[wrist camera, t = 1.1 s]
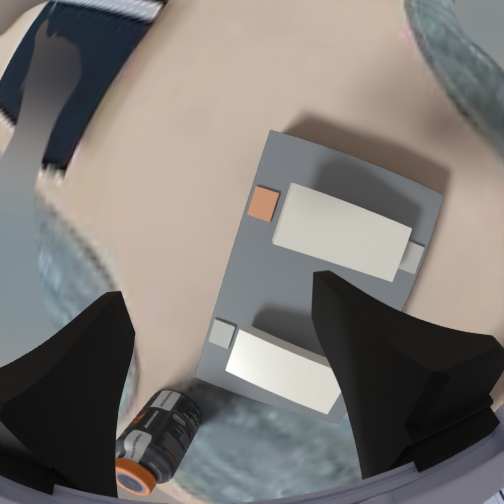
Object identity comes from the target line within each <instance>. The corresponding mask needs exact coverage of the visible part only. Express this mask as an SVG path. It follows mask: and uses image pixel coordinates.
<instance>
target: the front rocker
mask: <svg viewBox="0 0 504 504" xmlns="http://www.w3.org/2000/svg"><path fill="white" fill-rule="evenodd" d="M411 230H412V228H410V227H407V226H405V225H403V224H400V223H398V222H396V221H393V220H391V219H388V218H386V217H384V216H381V215H379V214H376V213H374V212H371V211H369V210H366V209H364V208H361V207H358V206H356V205H353V204H351V203H348V202H345V201H343V200H340V199H337V198H335V197H332V196H329V195H327V194H324V193H321V192H318V191H315V190H313V189H310V188H307V187H304V186H301V185H298V184H295V183H291V184H290V187H289V190H288V193H287V196H286V199H285V202H284V205H283V209H282V212H281V215H280V218H279V221H278V224H277V227H276V230H275V233H274V236H273V239H272V241H273V244H275V245H278V246H281V247H284V248H288V249H291V250H294V251H297V252H300V253H303V254H307V255H310V256H313V257H316V258H319V259H322V260H325V261H329V262H332V263H335V264H338V265H341V266H344V267H347V268H350V269H353V270H356V271H360V272H363V273H366V274H369V275H372V276H375V277H378V278H381V279H384V280H387V281H390V282H393V279H394V277H395V274H396V272H397V269H398V266H399V264H400V261H401V259H402V256H403V253H404V250H405V248H406V245H407V242H408V239H409V236H410V233H411Z"/></svg>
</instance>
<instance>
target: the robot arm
mask: <svg viewBox="0 0 504 504" xmlns="http://www.w3.org/2000/svg"><path fill="white" fill-rule="evenodd" d="M311 318H312V321H313V325H314V328H315V331H316V335H317V338H318V340H319V342H320V345H321V347H322V349H323V351H324V354H325V356H326V358H327V360H328V362H329V364H330V367H331V369H332V371H333V373H334V375H335V378H336V380H337V382H338V385H339V387H340V390H341V393H342V396H343V399H344V402H345V406H346V409H347V412H348V416H349V420H350V423H351V427H352V431H353V435H354V439H355V444H356V448H357V453H358V457H359V463H360V468H361V474H362V480H360V481H357V482H354V483H350V484H346V485H343V486H339V487H335V488H331V489H327V490H323V491H318V492H314V493H309V494H304V495H298V496H293V497H287V498H280V499H273V500H265V501H256V502H246V503H232V504H504V404H503V405H502V406H501V407H499V408H498V409H497V410H496V411H495V412H493V411H492V409H491V408H490V406H491V405H492V404H493V399H492V398H491V396H490V395H489V393H490V392H491V390H492V389H493V387H494V386H495V384H496V382H497V381H498V379H499V378H500V376H501V374H502V373H503V371H504V348H503V347H502V346H501V345H500V343H499V342H498V341H497V340H496V339H495V338H494V337H493V336H492V335H484V334H477V333H469V332H464V331H459V330H455V329H450V328H446V327H443V326H439V325H435V324H432V323H429V322H426V321H423V320H421V319H418V318H415V317H413V316H410V315H408V314H406V313H403V312H401V311H399V310H397V309H394V308H392V307H390V306H388V305H387V304H385V303H383V302H381V301H379V300H377V299H375V298H374V297H372V296H370V295H369V294H367V293H365V292H364V291H362V290H360V289H359V288H357V287H356V286H354V285H352V284H351V283H349V282H348V281H346V280H345V279H343V278H342V277H340V276H338V275H337V274H335V273H333V272H332V271H330V270H325V271H317V272H313V288H312V307H311ZM134 340H135V331H134V328H133V325H132V322H131V320H130V317H129V314H128V311H127V308H126V305H125V302H124V299H123V296H122V293H121V291H115V292H106V293H105V294H103V295H102V296H101V297H99V298H98V299H97V300H96V301H94V302H93V303H92V304H91V305H90V306H88V307H87V308H86V309H85V310H84V311H83V312H81V313H80V314H79V315H78V316H77V317H76V318H74V319H73V320H72V321H71V322H70V323H68V324H67V325H66V326H65V327H63V328H62V329H61V330H60V331H59V332H57V333H56V334H55V335H54V336H52V337H51V338H50V339H49V340H47V341H45V342H44V343H43V344H41V345H40V346H38V347H37V348H35V349H34V350H32V351H30V352H29V353H27V354H25V355H24V356H22V357H20V358H18V359H16V360H15V361H13V362H11V363H9V364H7V365H5V366H3V367H1V368H0V504H167V503H153V502H142V501H134V500H127V499H120V498H118V494H117V483H116V461H115V449H116V430H117V419H118V410H119V405H120V400H121V396H122V392H123V388H124V384H125V381H126V377H127V373H128V370H129V366H130V362H131V358H132V354H133V347H134Z"/></svg>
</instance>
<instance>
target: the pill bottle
mask: <svg viewBox="0 0 504 504" xmlns="http://www.w3.org/2000/svg"><path fill="white" fill-rule="evenodd" d="M200 424H201V414H200V412H199V410H198V408H197V407H196V405H195V404H194V403H193V402H192V401H191V400H189V399H188V398H187V397H185V396H183V395H182V394H179V393H177V392H173V391H159V392H157V393H155V394H154V395H153V396H152V397H151V398H150V400H149V401H148V402H147V403H146V405H145V406H144V407H143V408H142V410H141V411H140V412H139V413H138V415H137V416H136V417H135V418H134V419H133V421H132V422H131V423H130V424H129V426H128V427H127V428H126V429H125V430H124V432H123V433H122V434H121V436H120V437H119V438H118V439H117V440H116V449H115V457H116V459H115V461H116V482H117V483H118V484H119V485H120V486H121V487H123V488H125V489H126V490H128V491H130V492H132V493H135V494H137V495H143V496H147V495H149V494H150V493H151V492H152V490H153V488H154V487H155V486H156V484H161V483H165V482H168V481H169V480H170V479H171V478H172V477H173V476H174V474H175V472H176V470H177V468H178V466H179V464H180V463H181V461H182V459H183V457H184V455H185V453H186V452H187V450H188V448H189V446H190V444H191V442H192V440H193V438H194V436H195V434H196V432H197V431H198V428H199V426H200Z"/></svg>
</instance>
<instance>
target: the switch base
mask: <svg viewBox="0 0 504 504" xmlns="http://www.w3.org/2000/svg"><path fill="white" fill-rule="evenodd" d="M291 183H295V184H298V185H301V186H304V187H307V188H310V189H313V190H315V191H318V192H321V193H324V194H327V195H329V196H332V197H335V198H337V199H340V200H343V201H345V202H348V203H351V204H353V205H356V206H358V207H361V208H364V209H366V210H369V211H371V212H374V213H376V214H379V215H381V216H384V217H386V218H388V219H391V220H393V221H396V222H398V223H400V224H403V225H405V226H407V227H410V228H412V230H411V233H410V236H409V239H408V242H407V245H406V248H405V250H404V253H403V256H402V259H401V261H400V264H399V266H398V269H397V272H396V274H395V277H394V279H393V282H390V281H387V280H384V279H381V278H378V277H375V276H372V275H369V274H366V273H363V272H360V271H356V270H353V269H350V268H347V267H344V266H341V265H338V264H335V263H332V262H329V261H325V260H322V259H319V258H316V257H313V256H310V255H307V254H303V253H300V252H297V251H294V250H291V249H288V248H284V247H281V246H278V245H275V244H273V241H272V239H273V236H274V233H275V230H276V227H277V224H278V221H279V218H280V215H281V212H282V209H283V205H284V202H285V199H286V196H287V193H288V190H289V187H290V184H291ZM443 196H444V195H442V194H440V193H438V192H436V191H434V190H431V189H429V188H427V187H425V186H423V185H421V184H419V183H416V182H414V181H412V180H410V179H408V178H405V177H403V176H401V175H398V174H396V173H394V172H391V171H389V170H386V169H384V168H382V167H379V166H377V165H374V164H372V163H369V162H366V161H364V160H361V159H359V158H356V157H353V156H351V155H348V154H345V153H342V152H340V151H337V150H334V149H331V148H328V147H325V146H322V145H319V144H316V143H313V142H310V141H307V140H304V139H300V138H297V137H294V136H291V135H287V134H284V133H280V132H277V131H273V130H270V132H269V135H268V138H267V141H266V144H265V147H264V150H263V153H262V156H261V159H260V162H259V165H258V169H257V172H256V175H255V178H254V181H253V184H252V187H251V191H250V194H249V197H248V200H247V203H246V206H245V210H244V213H243V216H242V219H241V222H240V226H239V229H238V232H237V235H236V239H235V242H234V245H233V248H232V252H231V255H230V258H229V261H228V265H227V268H226V271H225V275H224V278H223V281H222V285H221V288H220V291H219V295H218V298H217V301H216V305H215V308H214V312H213V315H212V318H211V322H210V325H209V329H208V332H207V336H206V339H205V342H204V346H203V349H202V353H201V356H200V360H199V363H198V367H197V370H196V374H195V377H196V378H198V379H201V380H203V381H205V382H208V383H210V384H213V385H216V386H218V387H221V388H223V389H226V390H229V391H231V392H234V393H237V394H240V395H242V396H245V397H248V398H251V399H254V400H257V401H260V402H263V403H266V404H269V405H272V406H275V407H279V408H282V409H285V410H288V411H292V412H295V413H299V414H302V415H306V416H310V417H314V418H317V419H321V420H325V421H329V422H334V423H338V424H339V423H340V422H341V420H342V419H343V417H344V415H345V414H346V412H347V409H346V406H345V402H344V399H343V396H342V393H340V394H339V396H338V398H337V399H336V401H335V403H334V404H333V406H332V408H331V409H330V411H329V412H328V414H324V413H322V412H319V411H316V410H314V409H311V408H309V407H306V406H304V405H301V404H299V403H296V402H294V401H291V400H289V399H287V398H284V397H282V396H280V395H277V394H275V393H273V392H270V391H268V390H266V389H264V388H261V387H259V386H257V385H255V384H253V383H250V382H248V381H246V380H244V379H242V378H240V377H238V376H236V375H234V374H232V373H230V372H228V371H226V367H227V364H228V361H229V358H230V355H231V352H232V350H233V347H234V344H235V341H236V338H237V335H238V332H239V329H240V328H241V327H243V326H244V325H245V324H248V325H250V326H252V327H254V328H256V329H259V330H261V331H263V332H265V333H268V334H270V335H272V336H275V337H277V338H279V339H282V340H284V341H286V342H289V343H291V344H293V345H296V346H298V347H301V348H303V349H305V350H308V351H310V352H313V353H315V354H318V355H320V356H323V357H325V358H326V356H325V354H324V351H323V349H322V347H321V345H320V342H319V340H318V338H317V335H316V331H315V328H314V325H313V321H312V318H311V307H312V288H313V272H317V271H325V270H330V271H332V272H333V273H335V274H337V275H338V276H340V277H342V278H343V279H345V280H346V281H348V282H349V283H351V284H352V285H354V286H356V287H357V288H359V289H360V290H362V291H364V292H365V293H367V294H369V295H370V296H372V297H374V298H375V299H377V300H379V301H381V302H383V303H385V304H387V305H388V306H390V307H392V308H394V309H397V310H399V311H401V312H402V309H403V307H404V305H405V303H406V300H407V298H408V296H409V293H410V291H411V289H412V286H413V284H414V281H415V279H416V276H417V274H418V271H419V269H420V266H421V263H422V261H423V258H424V255H425V253H426V250H427V247H428V244H429V241H430V238H431V235H432V232H433V229H434V226H435V223H436V220H437V217H438V213H439V210H440V207H441V203H442V200H443Z"/></svg>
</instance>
